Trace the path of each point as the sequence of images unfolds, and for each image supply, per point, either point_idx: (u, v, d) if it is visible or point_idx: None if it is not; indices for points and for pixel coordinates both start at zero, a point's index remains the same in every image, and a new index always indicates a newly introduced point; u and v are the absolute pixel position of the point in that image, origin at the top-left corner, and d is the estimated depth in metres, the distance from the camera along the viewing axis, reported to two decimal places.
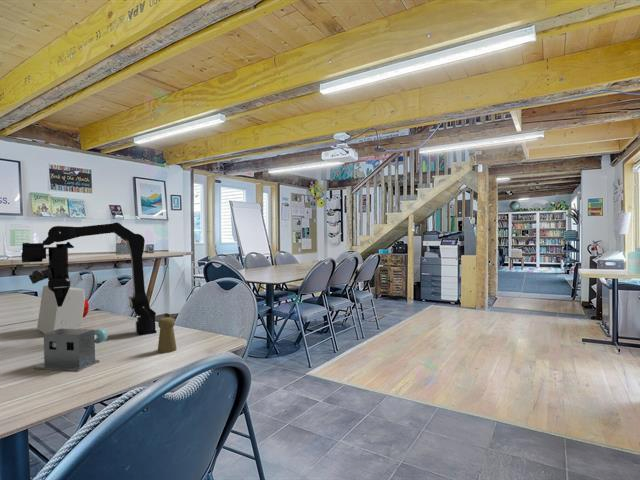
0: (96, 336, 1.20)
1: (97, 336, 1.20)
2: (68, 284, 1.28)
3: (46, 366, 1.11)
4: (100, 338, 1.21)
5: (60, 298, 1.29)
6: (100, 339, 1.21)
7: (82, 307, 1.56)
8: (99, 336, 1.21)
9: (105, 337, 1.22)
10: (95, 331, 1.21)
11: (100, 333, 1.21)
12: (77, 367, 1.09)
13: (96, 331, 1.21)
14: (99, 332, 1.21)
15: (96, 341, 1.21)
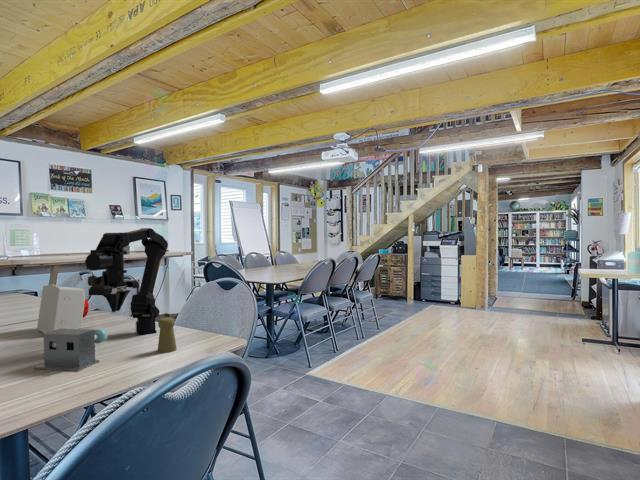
0: (96, 336, 1.20)
1: (97, 336, 1.20)
2: (102, 293, 1.24)
3: (46, 366, 1.11)
4: (100, 338, 1.21)
5: (112, 304, 1.32)
6: (100, 339, 1.21)
7: (82, 307, 1.56)
8: (99, 336, 1.21)
9: (105, 337, 1.22)
10: (95, 331, 1.21)
11: (100, 333, 1.21)
12: (77, 367, 1.09)
13: (96, 331, 1.21)
14: (99, 332, 1.21)
15: (96, 341, 1.21)
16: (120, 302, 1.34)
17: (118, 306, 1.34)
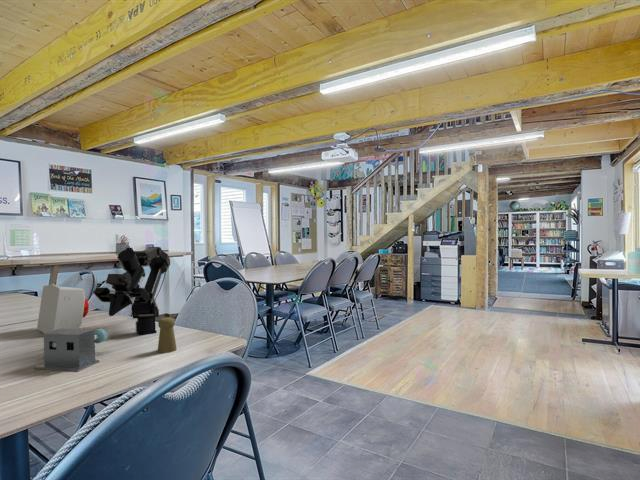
0: (96, 336, 1.20)
1: (97, 336, 1.20)
2: (148, 300, 1.32)
3: (46, 366, 1.11)
4: (100, 338, 1.21)
5: (118, 308, 1.29)
6: (100, 339, 1.21)
7: (82, 307, 1.56)
8: (99, 336, 1.21)
9: (105, 337, 1.22)
10: (95, 331, 1.21)
11: (100, 333, 1.21)
12: (77, 367, 1.09)
13: (96, 331, 1.21)
14: (99, 332, 1.21)
15: (96, 341, 1.21)
16: None
17: None
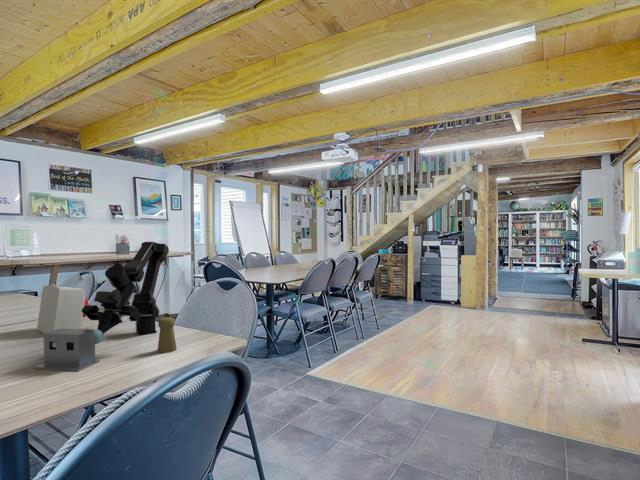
0: None
1: None
2: (138, 319, 1.27)
3: (46, 366, 1.11)
4: (96, 339, 1.19)
5: (106, 327, 1.23)
6: (96, 340, 1.19)
7: (82, 307, 1.56)
8: (95, 337, 1.19)
9: (101, 338, 1.20)
10: None
11: (96, 334, 1.19)
12: (77, 367, 1.09)
13: None
14: (95, 333, 1.19)
15: None
16: None
17: None
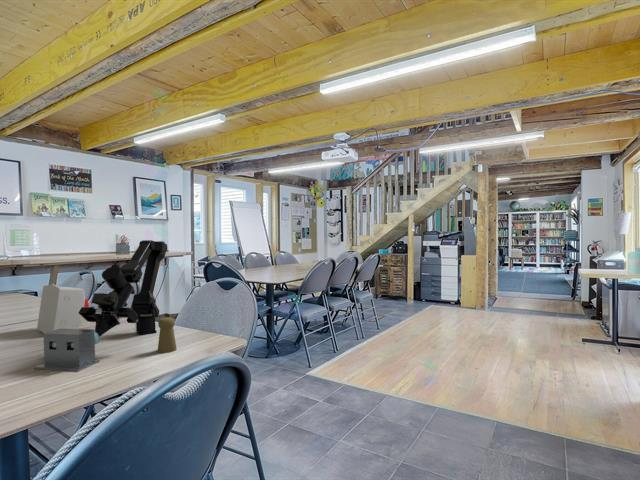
0: None
1: None
2: (136, 320, 1.26)
3: (46, 366, 1.11)
4: None
5: (104, 329, 1.22)
6: None
7: None
8: None
9: (96, 340, 1.18)
10: None
11: None
12: (77, 367, 1.09)
13: None
14: None
15: None
16: None
17: None
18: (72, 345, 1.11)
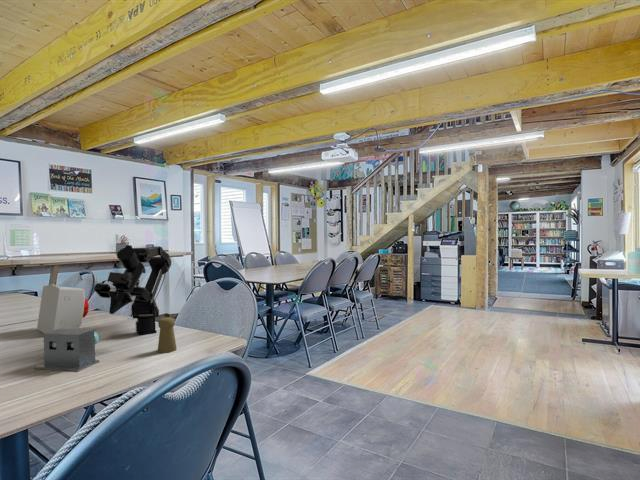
0: None
1: None
2: (148, 299, 1.34)
3: (46, 366, 1.11)
4: None
5: (118, 306, 1.30)
6: None
7: (82, 307, 1.56)
8: None
9: (96, 340, 1.18)
10: None
11: None
12: (77, 367, 1.09)
13: None
14: None
15: None
16: None
17: None
18: (72, 345, 1.11)
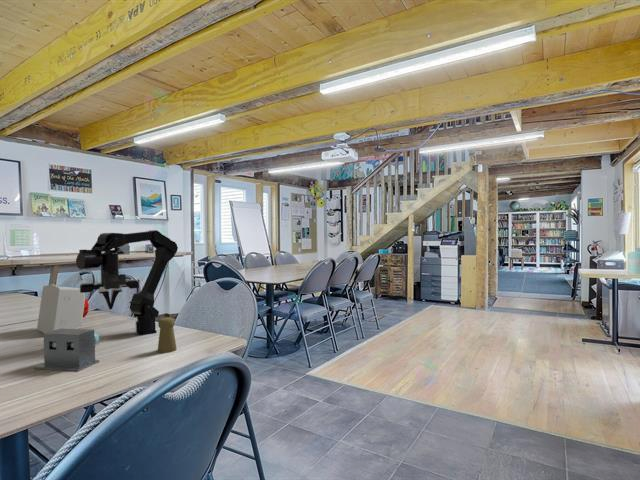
0: None
1: None
2: None
3: (46, 366, 1.11)
4: None
5: None
6: None
7: (82, 307, 1.56)
8: None
9: (96, 340, 1.18)
10: None
11: None
12: (77, 367, 1.09)
13: None
14: None
15: None
16: None
17: None
18: (72, 345, 1.11)
